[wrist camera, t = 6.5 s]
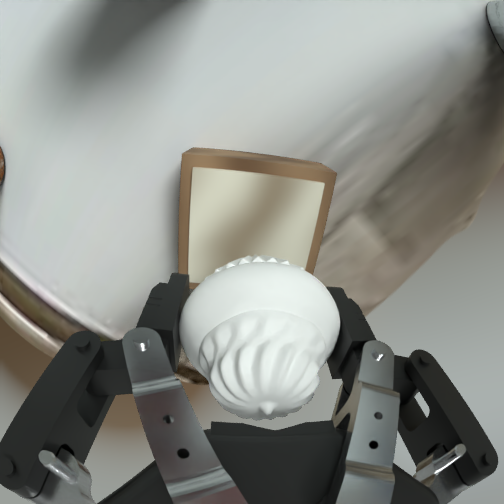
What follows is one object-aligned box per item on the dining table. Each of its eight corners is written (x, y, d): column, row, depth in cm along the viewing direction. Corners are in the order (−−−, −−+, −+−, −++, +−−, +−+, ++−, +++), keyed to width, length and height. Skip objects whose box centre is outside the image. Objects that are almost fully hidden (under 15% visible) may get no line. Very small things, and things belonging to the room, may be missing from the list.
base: (320, 163, 20) (338, 174, 17) (297, 272, 25) (306, 300, 21) (192, 147, 20) (181, 154, 16) (187, 261, 24) (177, 289, 20)
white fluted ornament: (225, 200, 11) (208, 311, 5) (342, 258, 13) (409, 372, 6) (174, 306, 14) (144, 427, 7) (277, 343, 15) (293, 455, 9)
